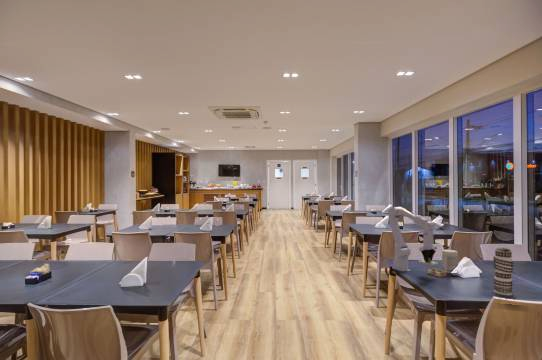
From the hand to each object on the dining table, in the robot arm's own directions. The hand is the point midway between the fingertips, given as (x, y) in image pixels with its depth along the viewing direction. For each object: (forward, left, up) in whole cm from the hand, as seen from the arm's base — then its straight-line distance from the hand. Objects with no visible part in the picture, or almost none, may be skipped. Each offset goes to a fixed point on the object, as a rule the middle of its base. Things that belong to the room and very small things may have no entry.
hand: (428, 261), depth 213 cm
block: (0, +8, -10) cm, 13 cm away
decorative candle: (+38, +12, -10) cm, 42 cm away
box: (0, +8, -10) cm, 13 cm away
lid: (0, 0, -2) cm, 2 cm away
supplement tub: (-1, +23, -10) cm, 26 cm away
